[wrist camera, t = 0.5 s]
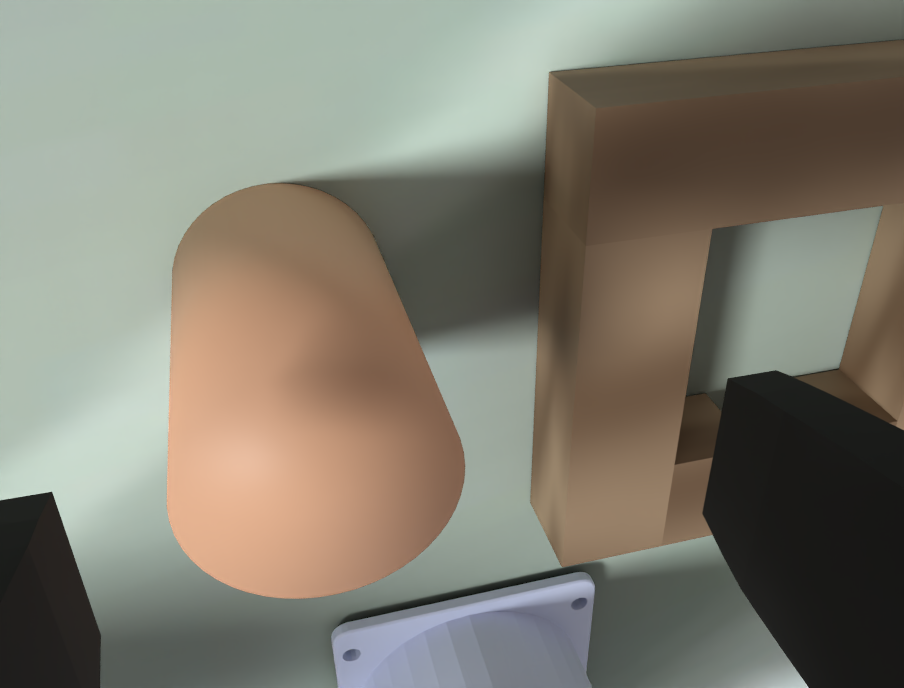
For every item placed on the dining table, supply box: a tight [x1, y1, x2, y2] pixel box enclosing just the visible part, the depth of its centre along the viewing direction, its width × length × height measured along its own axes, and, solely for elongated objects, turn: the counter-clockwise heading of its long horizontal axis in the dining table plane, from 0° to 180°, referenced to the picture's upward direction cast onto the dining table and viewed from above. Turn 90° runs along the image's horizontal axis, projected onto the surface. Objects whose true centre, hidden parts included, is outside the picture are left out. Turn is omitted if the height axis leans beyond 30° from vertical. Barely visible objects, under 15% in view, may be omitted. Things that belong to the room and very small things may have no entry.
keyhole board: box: [530, 40, 904, 567], centre depth 21 cm, size 12×12×2 cm
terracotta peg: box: [167, 183, 465, 599], centre depth 16 cm, size 4×4×7 cm
